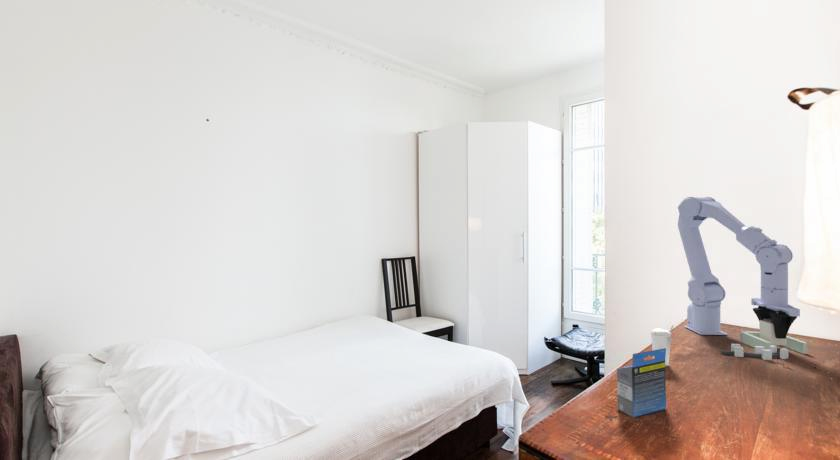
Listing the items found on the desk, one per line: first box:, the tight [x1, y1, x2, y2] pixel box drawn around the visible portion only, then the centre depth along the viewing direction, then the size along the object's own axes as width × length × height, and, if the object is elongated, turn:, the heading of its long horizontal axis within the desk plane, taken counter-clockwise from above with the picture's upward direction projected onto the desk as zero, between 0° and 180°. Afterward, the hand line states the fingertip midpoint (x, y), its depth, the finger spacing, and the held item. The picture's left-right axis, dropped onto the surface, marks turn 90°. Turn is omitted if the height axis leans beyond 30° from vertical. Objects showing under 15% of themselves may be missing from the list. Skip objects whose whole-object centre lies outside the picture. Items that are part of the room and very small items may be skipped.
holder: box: [739, 331, 808, 355], centre depth 111 cm, size 10×10×3 cm
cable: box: [719, 349, 790, 359], centre depth 105 cm, size 4×17×1 cm, turn 84°
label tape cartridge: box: [616, 348, 667, 418], centre depth 77 cm, size 9×4×12 cm, turn 110°
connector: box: [758, 318, 787, 346], centre depth 111 cm, size 4×4×7 cm
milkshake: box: [650, 325, 674, 367], centre depth 100 cm, size 4×5×10 cm
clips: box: [730, 343, 789, 361], centre depth 105 cm, size 6×12×2 cm, turn 84°
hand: (774, 335), depth 111 cm, fingers closed on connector, 4 cm apart
